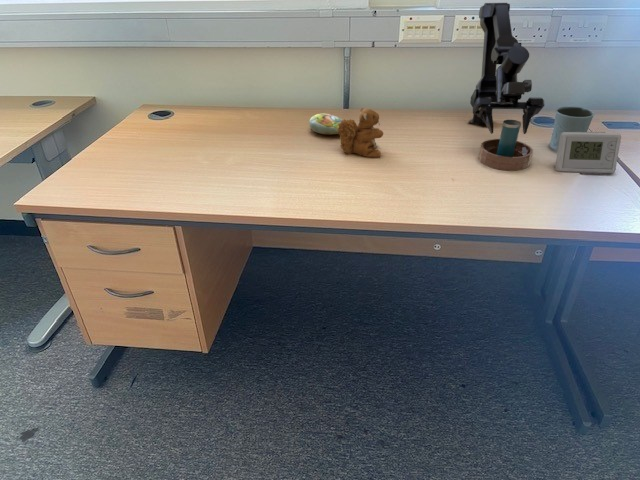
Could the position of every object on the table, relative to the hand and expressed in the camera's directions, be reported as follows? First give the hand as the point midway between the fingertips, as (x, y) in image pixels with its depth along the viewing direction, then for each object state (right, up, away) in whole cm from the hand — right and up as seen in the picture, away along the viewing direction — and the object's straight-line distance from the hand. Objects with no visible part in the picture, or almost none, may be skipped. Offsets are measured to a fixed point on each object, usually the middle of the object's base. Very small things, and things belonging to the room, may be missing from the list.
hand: (508, 133), depth 131 cm
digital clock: (+20, -11, -2) cm, 23 cm away
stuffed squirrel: (-42, -3, +13) cm, 44 cm away
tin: (0, -7, +4) cm, 8 cm away
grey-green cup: (+22, -3, +11) cm, 24 cm away
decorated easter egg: (-52, +7, +28) cm, 59 cm away
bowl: (0, -8, +4) cm, 9 cm away
